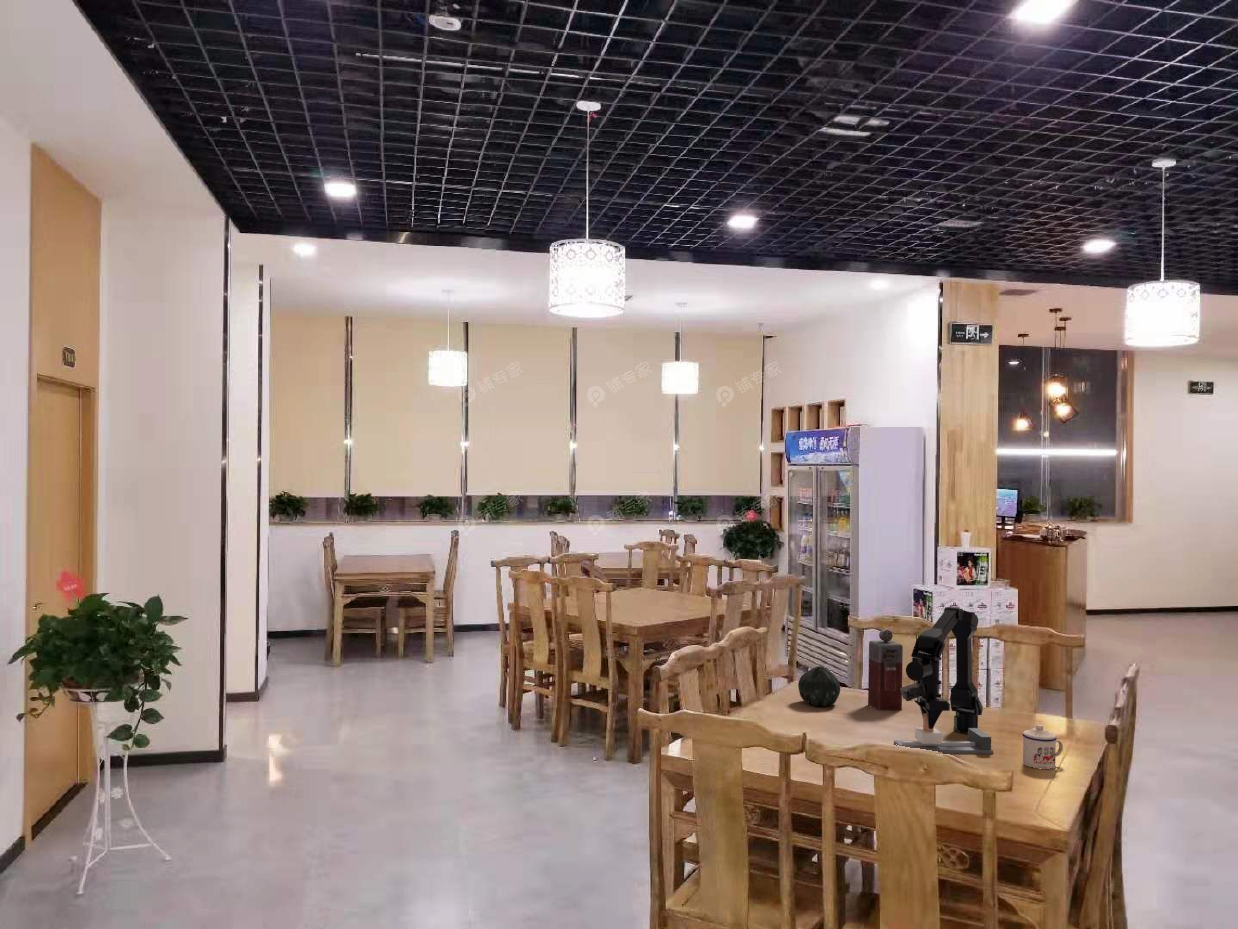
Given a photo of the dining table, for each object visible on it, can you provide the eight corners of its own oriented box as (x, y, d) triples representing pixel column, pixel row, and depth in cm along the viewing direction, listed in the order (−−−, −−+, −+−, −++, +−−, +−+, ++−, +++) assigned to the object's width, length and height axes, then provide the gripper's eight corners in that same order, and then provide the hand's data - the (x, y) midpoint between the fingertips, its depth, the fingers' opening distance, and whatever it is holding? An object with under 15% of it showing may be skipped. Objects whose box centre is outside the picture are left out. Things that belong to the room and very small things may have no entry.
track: (979, 744, 296) (979, 728, 296) (993, 753, 286) (993, 737, 286) (894, 743, 295) (894, 727, 295) (904, 753, 285) (905, 736, 285)
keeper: (934, 738, 294) (934, 711, 294) (941, 744, 287) (942, 717, 287) (915, 738, 293) (915, 711, 293) (922, 743, 287) (922, 716, 287)
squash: (820, 682, 357) (804, 655, 350) (853, 691, 345) (837, 663, 338) (800, 711, 350) (784, 684, 343) (833, 721, 338) (817, 693, 332)
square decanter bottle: (881, 712, 334) (883, 632, 334) (867, 704, 345) (868, 627, 345) (905, 711, 336) (906, 632, 336) (890, 704, 347) (891, 627, 347)
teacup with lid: (1034, 771, 270) (1035, 730, 270) (1015, 761, 279) (1016, 721, 279) (1072, 769, 272) (1072, 728, 272) (1052, 759, 281) (1052, 720, 281)
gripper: (893, 669, 300) (892, 719, 299) (913, 682, 281) (913, 735, 281) (928, 670, 300) (927, 719, 300) (950, 683, 281) (950, 735, 281)
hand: (928, 727), depth 290 cm, fingers closed on keeper, 3 cm apart
